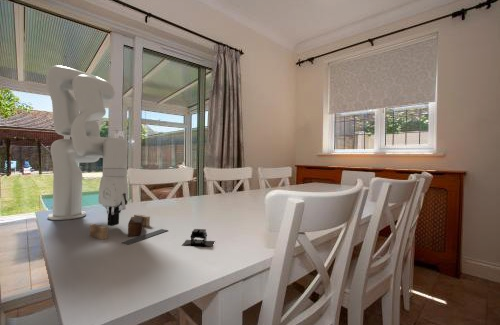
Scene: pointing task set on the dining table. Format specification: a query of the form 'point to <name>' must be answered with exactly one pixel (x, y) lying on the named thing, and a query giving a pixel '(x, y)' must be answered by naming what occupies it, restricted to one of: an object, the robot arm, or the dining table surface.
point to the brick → (135, 226)
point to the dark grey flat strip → (144, 236)
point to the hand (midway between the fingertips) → (113, 224)
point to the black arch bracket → (198, 243)
